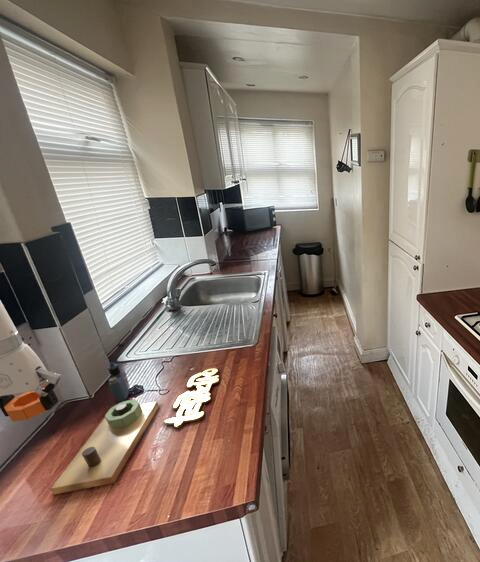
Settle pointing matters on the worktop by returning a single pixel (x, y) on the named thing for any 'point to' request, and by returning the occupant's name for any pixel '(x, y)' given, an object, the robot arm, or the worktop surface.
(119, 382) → the vaping device
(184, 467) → the worktop surface
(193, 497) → the worktop surface
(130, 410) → the green ring
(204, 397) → the lettering
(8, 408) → the orange ring
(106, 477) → the peg board
